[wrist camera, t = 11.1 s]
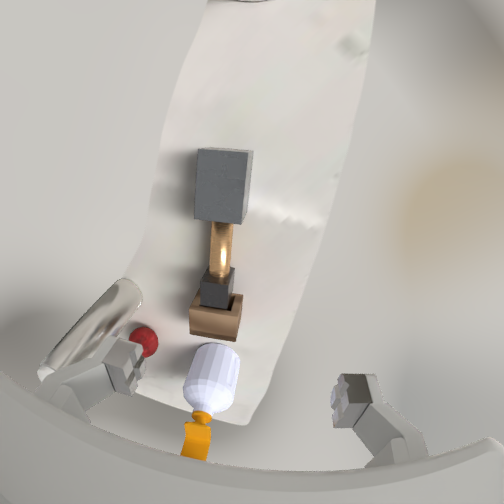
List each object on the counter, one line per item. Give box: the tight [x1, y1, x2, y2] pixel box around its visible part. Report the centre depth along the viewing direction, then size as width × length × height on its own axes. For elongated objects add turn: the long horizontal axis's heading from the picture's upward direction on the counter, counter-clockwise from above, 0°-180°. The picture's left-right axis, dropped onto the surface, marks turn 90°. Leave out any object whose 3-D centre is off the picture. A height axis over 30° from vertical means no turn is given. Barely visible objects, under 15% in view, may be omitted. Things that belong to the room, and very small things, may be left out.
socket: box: [189, 288, 243, 342], centre depth 43 cm, size 5×7×6 cm
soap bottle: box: [180, 343, 240, 461], centre depth 40 cm, size 9×9×25 cm
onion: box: [129, 327, 158, 358], centre depth 47 cm, size 6×6×8 cm
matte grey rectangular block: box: [194, 147, 253, 225], centre depth 35 cm, size 9×6×6 cm
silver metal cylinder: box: [37, 279, 143, 382], centre depth 36 cm, size 6×6×25 cm
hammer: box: [200, 221, 235, 310], centre depth 40 cm, size 17×4×6 cm, turn 174°
